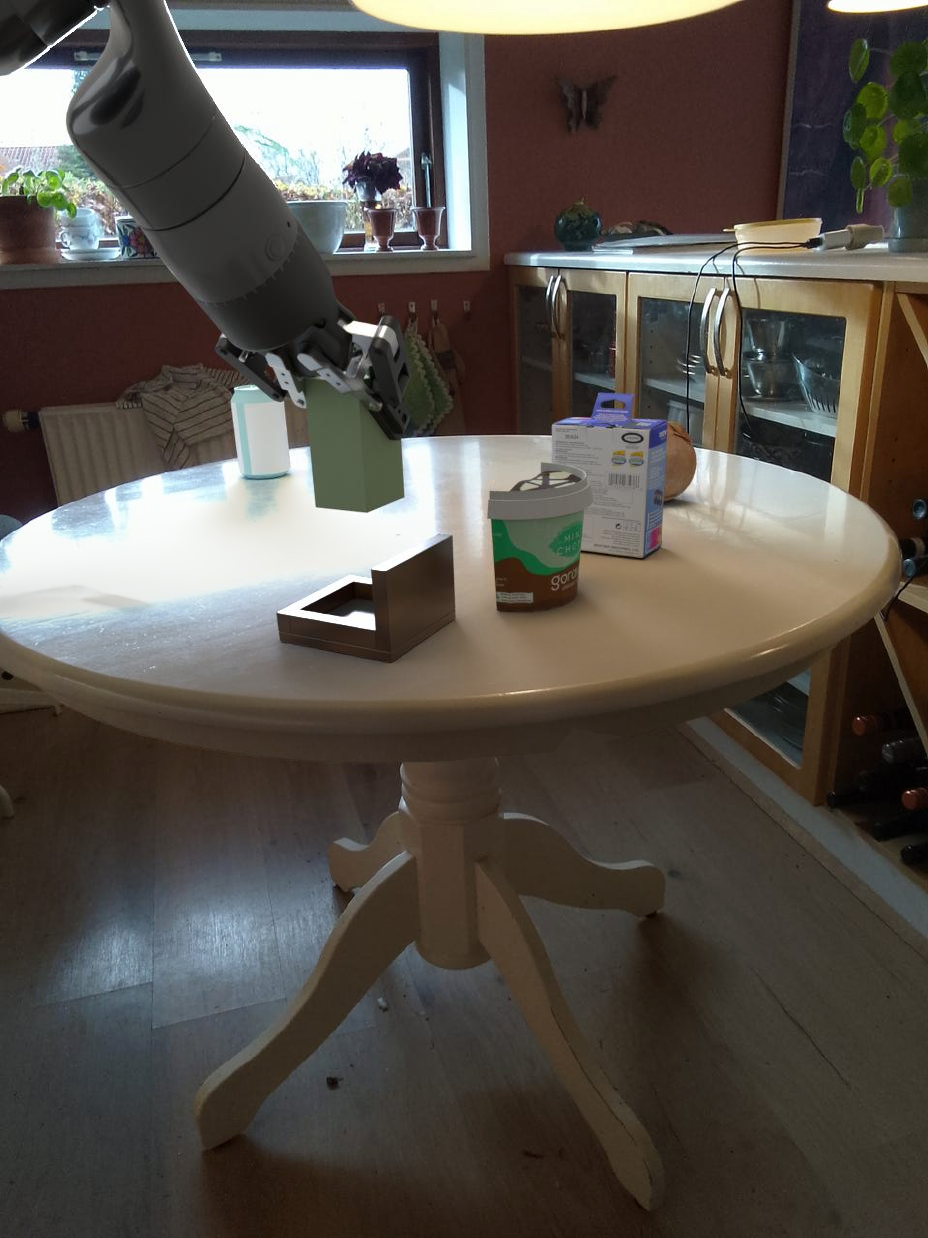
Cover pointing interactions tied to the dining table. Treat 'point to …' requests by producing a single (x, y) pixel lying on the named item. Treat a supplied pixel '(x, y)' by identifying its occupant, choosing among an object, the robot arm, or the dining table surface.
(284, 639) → the seat frame
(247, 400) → the can
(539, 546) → the food container
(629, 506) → the ink cartridge box
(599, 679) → the dining table surface
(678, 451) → the onion
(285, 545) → the dining table surface
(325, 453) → the green rectangular block
